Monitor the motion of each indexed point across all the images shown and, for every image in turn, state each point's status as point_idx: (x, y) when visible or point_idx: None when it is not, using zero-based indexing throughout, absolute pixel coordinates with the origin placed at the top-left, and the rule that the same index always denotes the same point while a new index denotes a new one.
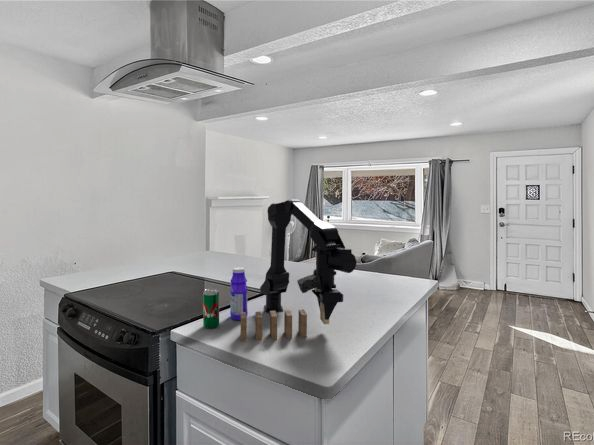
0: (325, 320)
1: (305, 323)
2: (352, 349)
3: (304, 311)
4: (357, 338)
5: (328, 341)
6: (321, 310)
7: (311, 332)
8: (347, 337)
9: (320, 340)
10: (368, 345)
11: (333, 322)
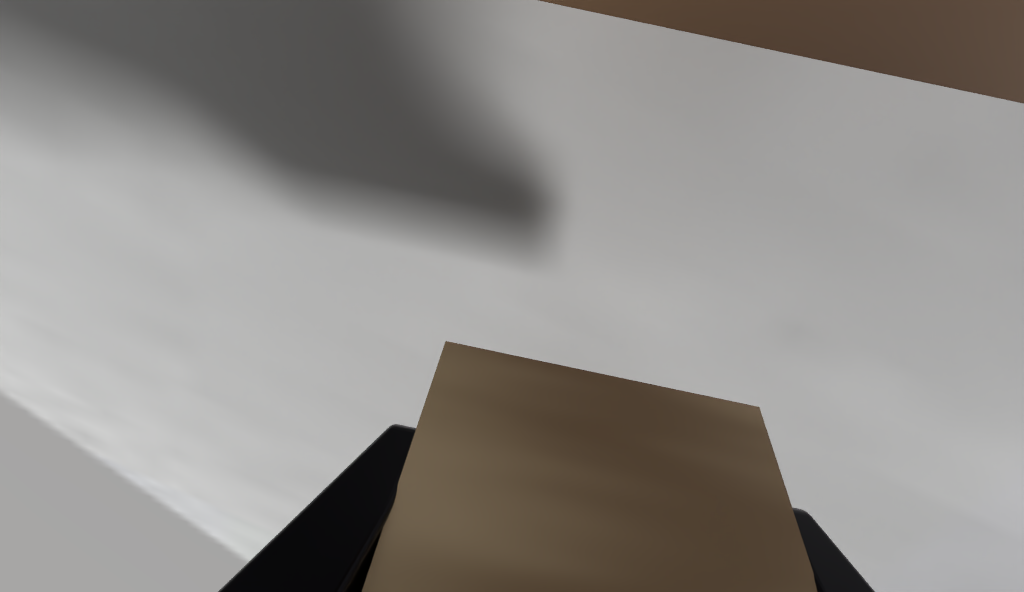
0: (423, 413)
1: None
2: (43, 331)
3: (907, 44)
4: (313, 487)
5: (276, 200)
6: (690, 580)
7: (682, 113)
8: (356, 432)
9: (327, 109)
10: (147, 480)
11: (833, 516)
